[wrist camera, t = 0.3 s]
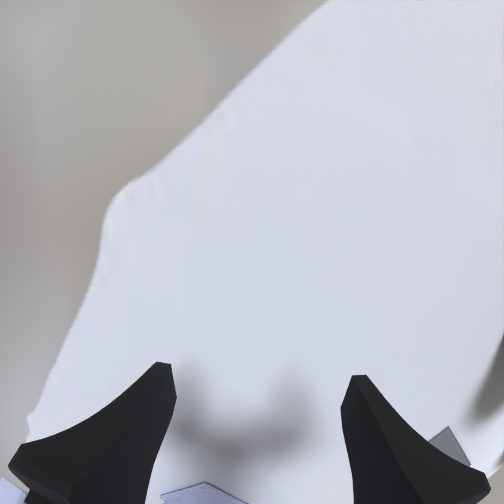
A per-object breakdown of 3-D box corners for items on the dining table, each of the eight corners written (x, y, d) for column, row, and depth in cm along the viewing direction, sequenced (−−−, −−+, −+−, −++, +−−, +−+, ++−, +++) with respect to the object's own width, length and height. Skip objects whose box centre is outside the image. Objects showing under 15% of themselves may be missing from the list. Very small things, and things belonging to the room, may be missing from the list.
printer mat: (399, 509, 28) (399, 510, 28) (353, 486, 26) (353, 488, 26) (470, 463, 26) (471, 464, 26) (448, 426, 24) (449, 427, 23)
